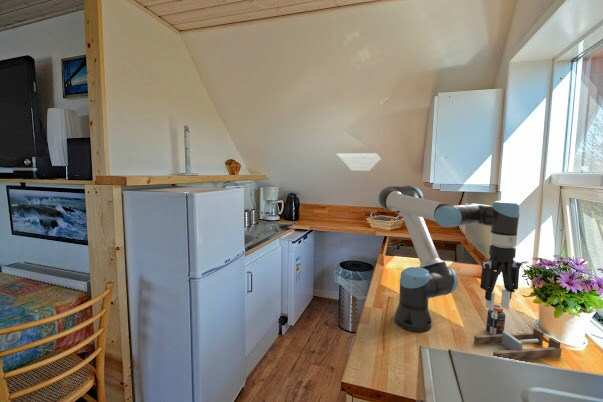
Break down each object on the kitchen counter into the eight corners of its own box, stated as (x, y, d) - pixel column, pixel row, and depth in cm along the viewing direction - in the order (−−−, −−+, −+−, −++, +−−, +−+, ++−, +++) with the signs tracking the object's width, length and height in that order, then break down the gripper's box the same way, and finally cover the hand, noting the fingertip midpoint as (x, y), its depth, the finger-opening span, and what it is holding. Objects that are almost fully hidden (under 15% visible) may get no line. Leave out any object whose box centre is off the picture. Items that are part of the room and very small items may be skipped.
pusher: (518, 356, 99) (519, 343, 99) (501, 343, 107) (502, 331, 106) (546, 354, 101) (547, 341, 100) (527, 341, 108) (528, 329, 107)
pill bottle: (497, 338, 111) (500, 311, 109) (482, 330, 116) (484, 304, 115) (507, 334, 113) (509, 308, 112) (492, 327, 118) (494, 301, 117)
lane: (495, 361, 97) (496, 348, 96) (473, 343, 107) (474, 331, 107) (560, 356, 100) (562, 343, 99) (533, 339, 110) (534, 327, 109)
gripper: (486, 249, 93) (481, 314, 96) (536, 247, 95) (529, 312, 98) (470, 243, 101) (466, 304, 103) (517, 241, 103) (511, 301, 105)
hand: (497, 307), depth 101 cm, fingers open, 5 cm apart
